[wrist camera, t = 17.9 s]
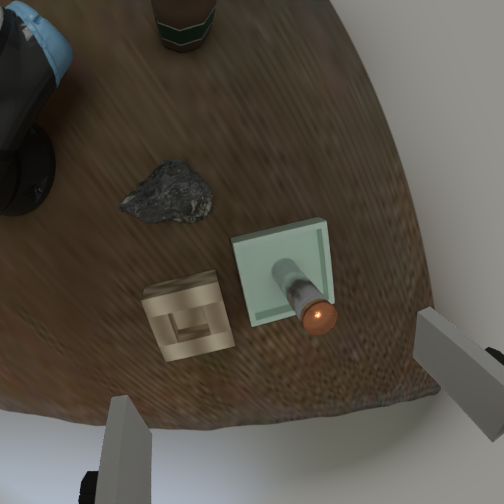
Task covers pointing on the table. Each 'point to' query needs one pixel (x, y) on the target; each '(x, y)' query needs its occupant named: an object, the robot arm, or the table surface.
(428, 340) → the robot arm
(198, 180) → the rock
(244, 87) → the table surface
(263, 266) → the tray
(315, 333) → the pin
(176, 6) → the beer bottle
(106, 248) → the table surface
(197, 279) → the block
